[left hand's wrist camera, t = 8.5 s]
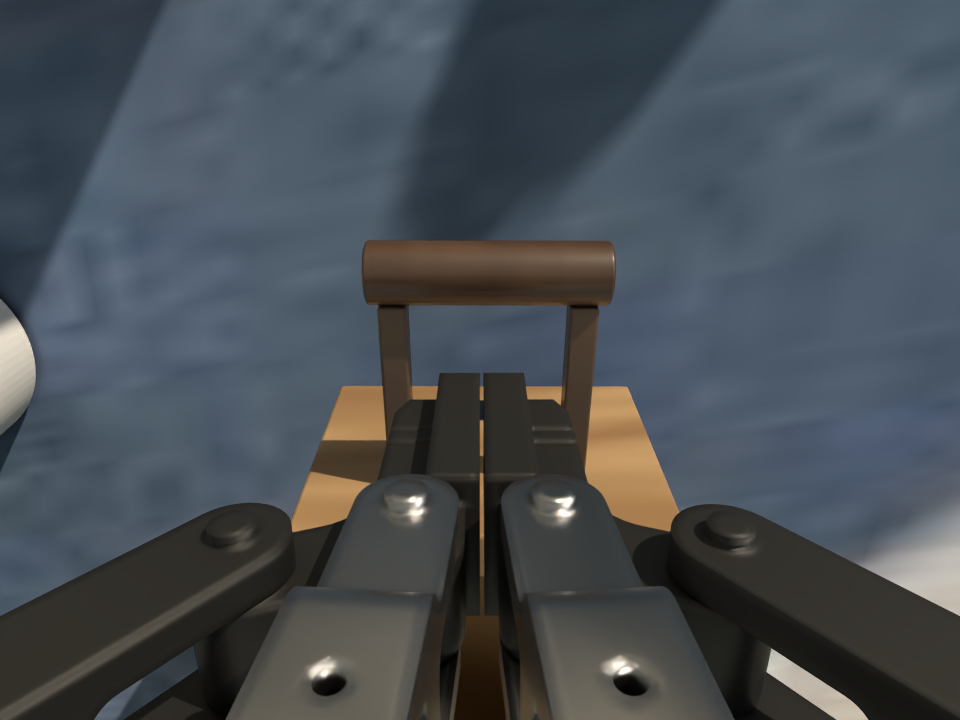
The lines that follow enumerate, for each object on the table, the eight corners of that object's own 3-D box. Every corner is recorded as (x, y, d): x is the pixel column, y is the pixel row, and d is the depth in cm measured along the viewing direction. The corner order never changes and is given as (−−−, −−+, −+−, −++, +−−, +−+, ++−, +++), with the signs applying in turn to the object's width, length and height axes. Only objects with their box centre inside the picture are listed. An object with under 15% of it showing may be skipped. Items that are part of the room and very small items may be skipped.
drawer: (321, 189, 18) (241, 274, 12) (650, 190, 18) (738, 274, 12) (381, 793, 29) (356, 994, 23) (581, 793, 29) (608, 994, 23)
